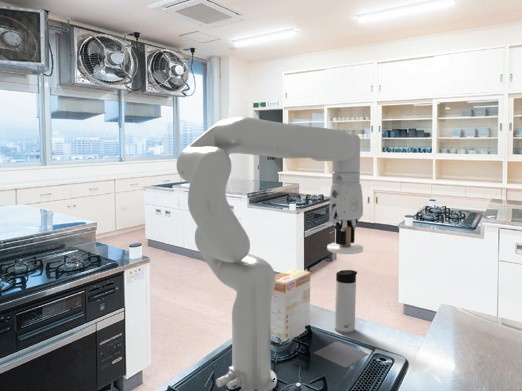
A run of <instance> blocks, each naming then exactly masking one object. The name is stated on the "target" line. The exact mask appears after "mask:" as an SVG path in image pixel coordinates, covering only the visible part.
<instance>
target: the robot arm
mask: <svg viewBox="0 0 522 391" xmlns="http://www.w3.org/2000/svg"><path fill="white" fill-rule="evenodd" d="M231 154H244V155H250V156H251V155H252V156H262V157H270V158H277V159H294V160H295V159H311V160H313V161H318V162H332V174H331V175H332V179H331V180H332V181H331V182H332V183H331V188H330V195H329V210H328V211H329V220H328V222H329V224H330V225H332V226H333V229H334V231H335V243H336V244H340V245H346V231H344V230H345V226H348V227H351V243H354V244H355V231H356V230H355V229H356V228H357V223H358V221H359V220H360V219H361V218H362V217H363V215H364V214H363V213H364V204H363V202H364V200H363V190H362V184H361V181H360V180H361V179H360V178H361V176H360V175H361V138H360V136H359V135H358V134H356V133H355V134H353V133H349V132H347V131H344V130H339V129H333V128H326V127H320V126H319V127H317V126H307V125H301V124H295V123H294V124H293V123H292V124H291V123H284V122H279V121H274V120H273V121H272V120H265V119H261V118H255V117H250V116H237V117H233V118H226V119H225V118H223V119H222V120H220V121H218V122H216V123H215V124H214V125H212V126H211V127H210V128H208V129H207V130H206V131H204V132H203V134H201V135H200V136H199V137H197V138H196V139H195V140H194V141H192V142H191V143H190V144H189V145H188V146H186V147H185V148H184V149H183V150H182V151H181V152H180V153H179V155H178V157H177V159H176V164H175V165H176V170H177V173H178V175H179V177H180V178H181V179H182V180H184V181H185V182H187V183H189V186H188V193H187V206H188V211H189V214H190V215H191V217H192V218H191V219H193V221H194V222H195V224H196V226H197V227H196V229H195V233H194V242H195V245H196V248H197V250H198V252H199V253H200V255H201V256H202V258H203V260H204V261H205V263H206V264H207V266H208V267H209V268H210V269H211V271H212V273H213V274H214V275H215V276H216V278H217V279H218V280H219V281H220V282H221V283H222V285H225V286H226V287H228V288H230V289H232V290H234V291H235V292H236V297H235V299H234V303H233V305H232V312H231V345H232V346H231V351H232V352H231V362H232V363H231V366H229V367H228V372H226V374H225V375H222V376H221V377H218V378H216V379H215V384H216V387H217V388H221V387H223V386H225V385H226V387H227V388H228V390H230V389H233V388H236V387H241V389H240V390H239V391H273V390H274V389H275V388H276V386H277V382H278V376H277V374H276V373H275V372H274V371H273V370H272V369H271V368H272V367H271V365H272V360H271V359H272V355H271V354H272V351H271V350H272V347H271V346H272V345H271V344H272V342H271V303H272V296H273V291H274V286H275V276H276V274H275V271H274V268H273V266H271V264H270V263H269V262H267V261H266V260H265V259H263V258H261V257H259V256H256V255H253V254H250V249H251V242H250V241H251V240H250V238H249V236H248V234H247V232H246V230H245V229H244V227H243V225H242V224H241V223H240V221H239V219H238V217H237V216H236V214H235V213H234V211H233V209H232V207H231V206H230V204H229V202H228V199H227V194H226V191H227V185H228V182H229V178H230V176H231V172H232V160H231V157H230V155H231ZM274 378H275V380H273V379H274ZM273 381H274V382H273ZM273 388H274V389H273Z"/></svg>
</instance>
